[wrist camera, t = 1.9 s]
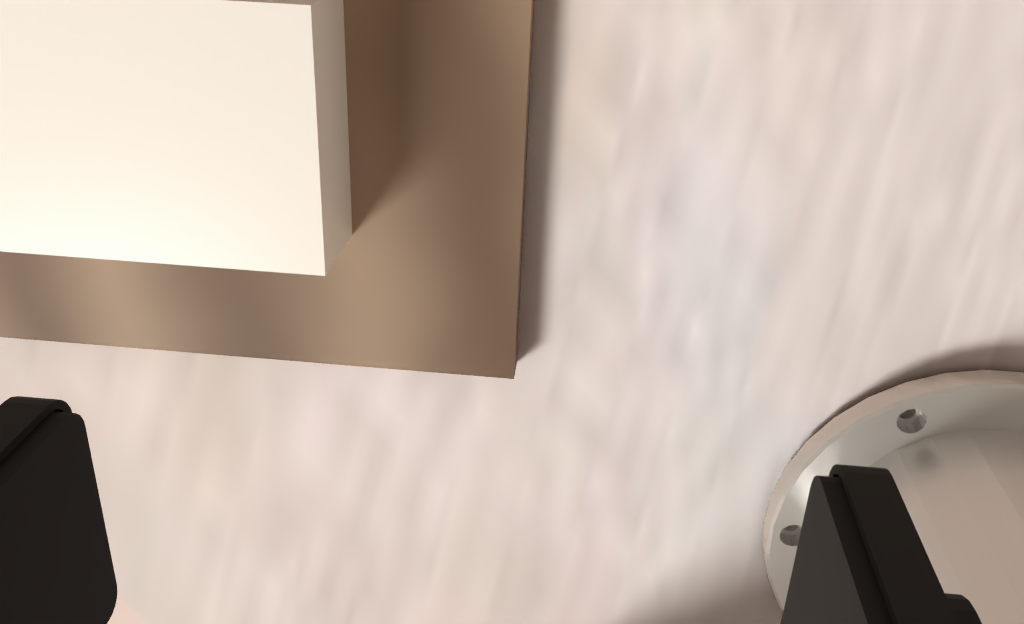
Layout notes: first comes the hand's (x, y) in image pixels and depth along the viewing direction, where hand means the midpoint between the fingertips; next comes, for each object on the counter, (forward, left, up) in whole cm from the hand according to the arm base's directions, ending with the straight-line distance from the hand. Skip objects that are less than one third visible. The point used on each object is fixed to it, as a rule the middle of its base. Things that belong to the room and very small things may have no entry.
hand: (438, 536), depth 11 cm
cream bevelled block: (+13, 0, -17) cm, 22 cm away
